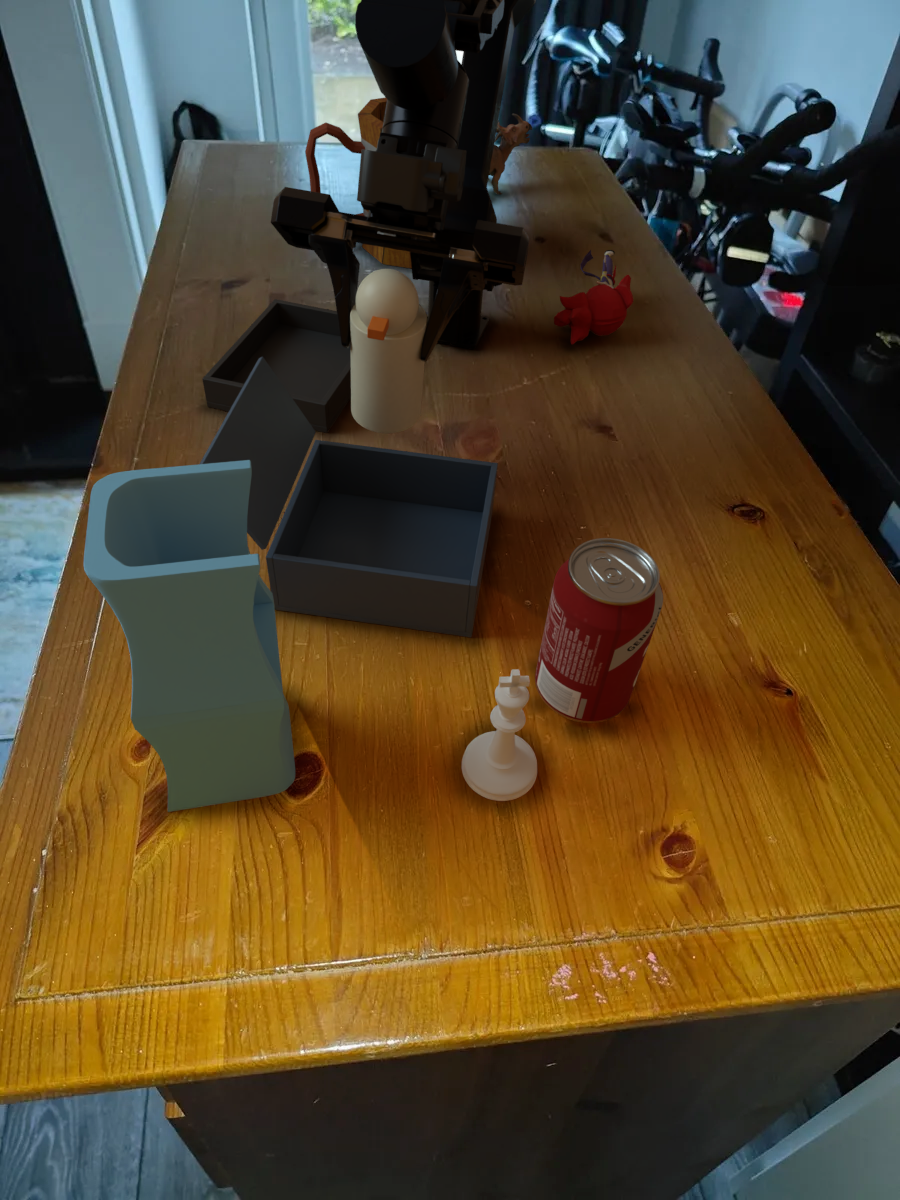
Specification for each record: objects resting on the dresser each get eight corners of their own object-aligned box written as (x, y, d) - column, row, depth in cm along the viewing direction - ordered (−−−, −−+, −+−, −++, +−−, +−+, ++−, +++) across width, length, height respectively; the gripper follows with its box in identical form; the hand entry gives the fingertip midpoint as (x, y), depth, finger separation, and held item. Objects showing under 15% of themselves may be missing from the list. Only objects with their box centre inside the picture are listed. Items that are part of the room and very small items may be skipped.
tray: (277, 325, 91) (274, 298, 89) (384, 347, 89) (384, 320, 87) (207, 406, 80) (201, 378, 78) (327, 433, 78) (325, 405, 76)
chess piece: (458, 737, 56) (468, 640, 49) (531, 734, 57) (551, 637, 49) (465, 803, 53) (477, 710, 46) (542, 799, 53) (566, 706, 46)
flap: (199, 469, 54) (194, 471, 54) (266, 548, 59) (261, 550, 59) (262, 356, 64) (258, 358, 64) (316, 432, 68) (312, 433, 68)
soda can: (567, 743, 56) (599, 624, 48) (515, 670, 60) (537, 549, 51) (648, 707, 59) (693, 588, 50) (593, 640, 63) (626, 519, 54)
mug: (458, 220, 111) (465, 93, 100) (478, 268, 102) (489, 134, 92) (308, 224, 108) (298, 94, 97) (316, 274, 99) (306, 136, 88)
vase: (297, 791, 53) (261, 565, 38) (167, 812, 51) (78, 585, 37) (287, 691, 58) (252, 458, 43) (168, 708, 57) (91, 472, 42)
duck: (360, 383, 72) (360, 240, 62) (426, 395, 72) (437, 253, 62) (338, 440, 67) (334, 295, 57) (409, 453, 67) (417, 310, 57)
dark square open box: (471, 637, 62) (477, 586, 58) (273, 609, 63) (265, 557, 59) (492, 514, 72) (498, 462, 68) (319, 491, 73) (315, 439, 69)
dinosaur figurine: (494, 172, 123) (500, 102, 117) (526, 185, 121) (534, 113, 114) (432, 198, 116) (434, 124, 109) (464, 211, 114) (469, 137, 107)
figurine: (637, 288, 99) (632, 355, 89) (566, 293, 101) (553, 359, 91) (637, 234, 95) (631, 298, 85) (562, 240, 97) (548, 304, 87)
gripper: (266, 63, 55) (230, 307, 57) (550, 109, 54) (504, 356, 56) (306, 137, 66) (275, 340, 68) (542, 177, 65) (504, 381, 67)
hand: (383, 353), depth 64 cm, fingers closed on duck, 6 cm apart
